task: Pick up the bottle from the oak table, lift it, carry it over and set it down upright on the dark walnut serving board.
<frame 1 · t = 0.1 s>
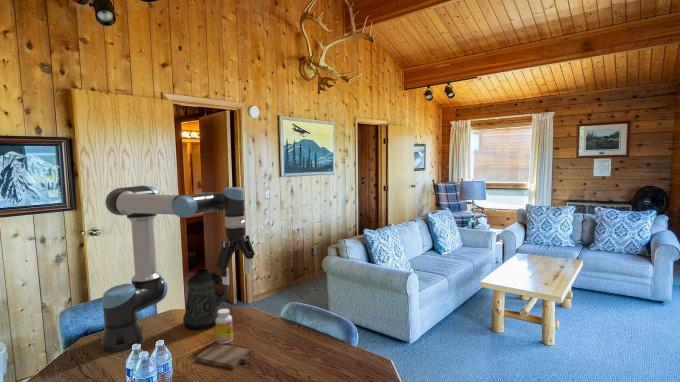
hand: (237, 279, 147), 28 cm above the table, fingers open, 13 cm apart
supplement bottle: (224, 341, 154), on the table
walnut board: (224, 357, 141), on the table
beer stein: (205, 322, 172), on the table
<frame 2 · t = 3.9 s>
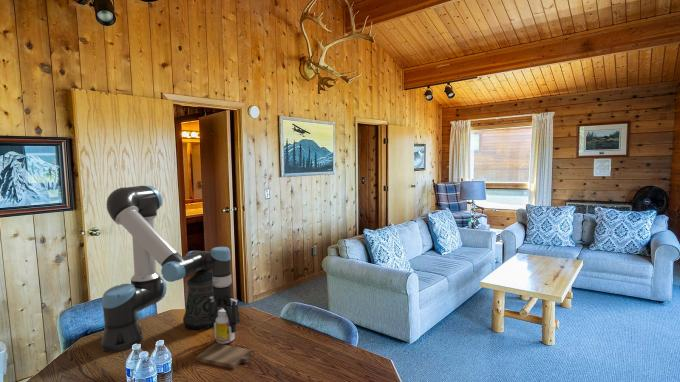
hand: (224, 338, 154), 1 cm above the table, fingers closed on supplement bottle, 7 cm apart
supplement bottle: (224, 341, 154), on the table, touching gripper
everything else where it was.
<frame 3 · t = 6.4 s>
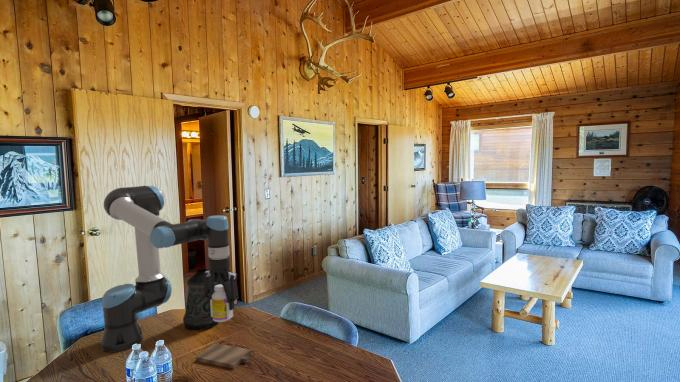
hand: (222, 316, 140), 16 cm above the table, fingers closed on supplement bottle, 7 cm apart
supplement bottle: (222, 319, 140), point 15 cm above the table, touching gripper
everything else where it was.
when the fingers open (3 cm above the table, at t = 9.3 s): supplement bottle stays where it is, resting on walnut board.
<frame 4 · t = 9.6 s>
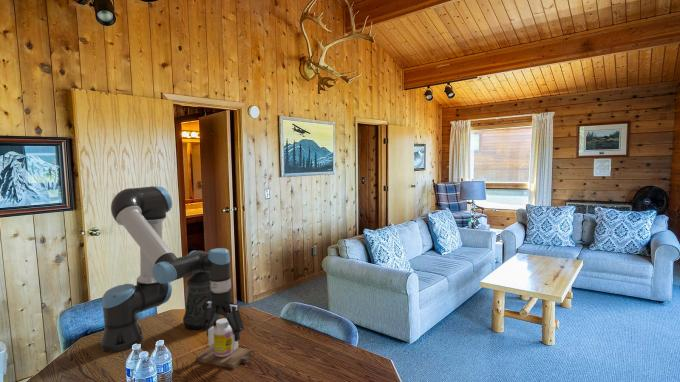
hand: (223, 346, 141), 4 cm above the table, fingers open, 10 cm apart
supplement bottle: (223, 353, 141), point 1 cm above the table, touching walnut board
everything else where it was.
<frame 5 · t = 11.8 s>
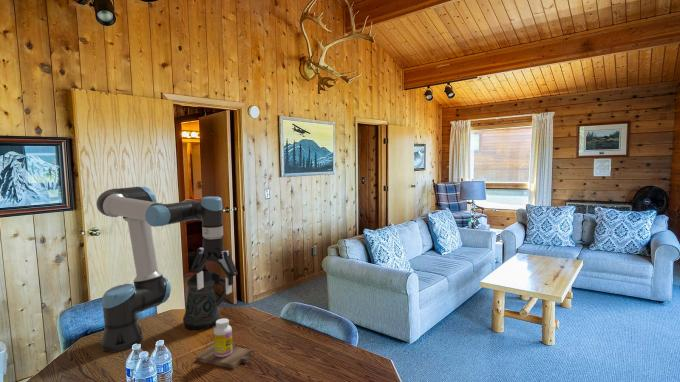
hand: (214, 290, 143), 25 cm above the table, fingers open, 13 cm apart
nothing on the table moved.
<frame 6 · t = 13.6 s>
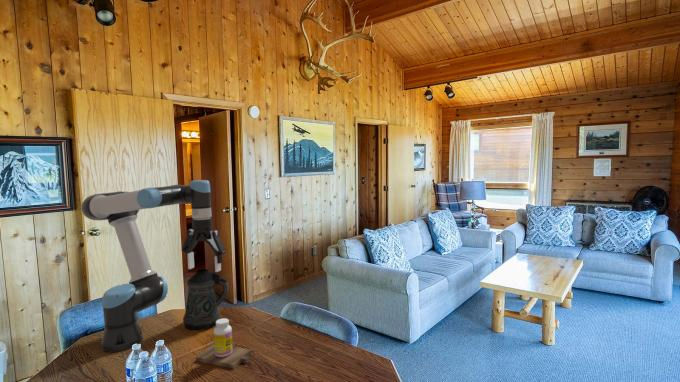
hand: (204, 269, 151), 31 cm above the table, fingers open, 13 cm apart
nothing on the table moved.
at the end: supplement bottle inside the target area on the walnut board (0.1 cm from its centre), point 1.3 cm above the walnut board's base; supplement bottle tilted 0°; the gripper is holding nothing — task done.
